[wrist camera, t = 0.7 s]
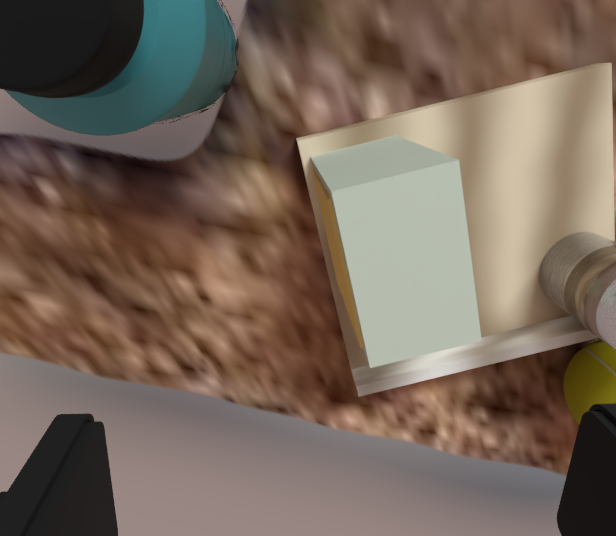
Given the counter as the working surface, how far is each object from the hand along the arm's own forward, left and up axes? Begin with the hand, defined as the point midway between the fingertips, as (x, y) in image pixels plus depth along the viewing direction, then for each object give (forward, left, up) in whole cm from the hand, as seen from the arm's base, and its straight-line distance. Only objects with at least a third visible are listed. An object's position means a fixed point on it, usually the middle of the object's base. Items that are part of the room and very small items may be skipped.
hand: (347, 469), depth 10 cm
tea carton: (-4, +1, -21) cm, 22 cm away
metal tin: (-17, +8, -21) cm, 28 cm away
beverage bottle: (+4, -10, -23) cm, 25 cm away
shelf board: (-10, +4, -23) cm, 25 cm away
